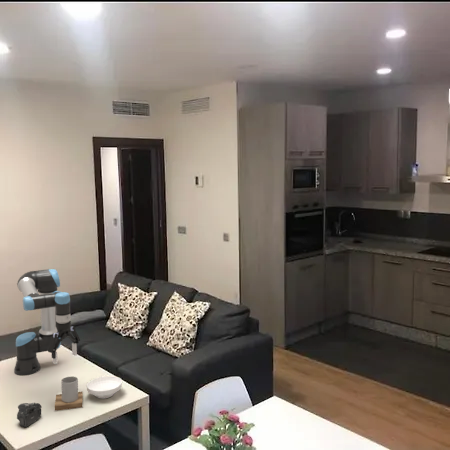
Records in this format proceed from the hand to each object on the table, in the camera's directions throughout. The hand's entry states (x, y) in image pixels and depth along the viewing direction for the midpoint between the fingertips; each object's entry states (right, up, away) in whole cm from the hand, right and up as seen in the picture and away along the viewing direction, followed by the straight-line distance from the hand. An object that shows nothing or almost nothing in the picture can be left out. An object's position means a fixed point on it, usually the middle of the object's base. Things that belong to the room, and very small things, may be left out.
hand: (65, 359), depth 262 cm
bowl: (+20, -23, +9) cm, 31 cm away
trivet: (+2, -24, 0) cm, 24 cm away
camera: (-12, -26, -19) cm, 35 cm away
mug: (+2, -21, 0) cm, 21 cm away
